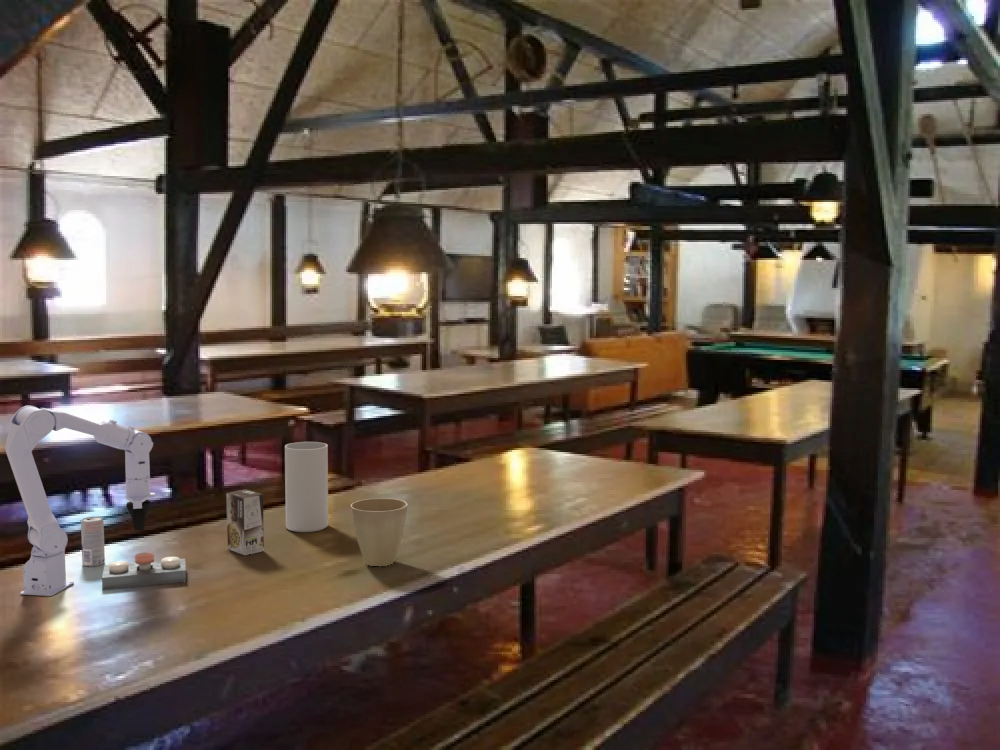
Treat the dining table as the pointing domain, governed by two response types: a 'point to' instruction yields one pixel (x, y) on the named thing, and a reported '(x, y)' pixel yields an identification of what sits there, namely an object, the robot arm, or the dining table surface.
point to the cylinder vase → (306, 486)
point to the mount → (143, 576)
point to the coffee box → (245, 522)
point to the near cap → (118, 566)
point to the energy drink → (92, 541)
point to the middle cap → (144, 560)
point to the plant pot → (379, 528)
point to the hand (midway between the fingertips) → (139, 529)
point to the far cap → (170, 562)
